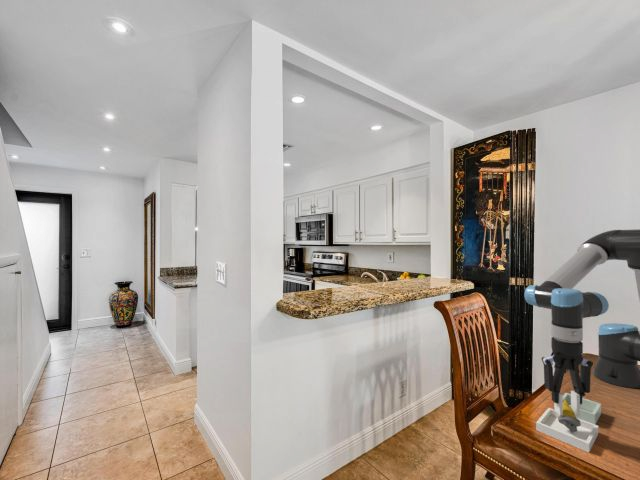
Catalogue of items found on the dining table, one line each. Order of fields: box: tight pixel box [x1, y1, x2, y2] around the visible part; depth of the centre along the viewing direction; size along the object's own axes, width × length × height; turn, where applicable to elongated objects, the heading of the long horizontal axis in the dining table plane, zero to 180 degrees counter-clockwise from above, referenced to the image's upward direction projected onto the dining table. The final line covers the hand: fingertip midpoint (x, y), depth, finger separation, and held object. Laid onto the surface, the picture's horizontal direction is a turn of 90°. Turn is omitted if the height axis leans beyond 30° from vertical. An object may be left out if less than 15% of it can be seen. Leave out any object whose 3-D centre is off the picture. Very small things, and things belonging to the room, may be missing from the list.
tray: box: [535, 407, 599, 453], centre depth 93 cm, size 13×13×2 cm
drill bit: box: [558, 399, 581, 433], centre depth 93 cm, size 5×5×10 cm
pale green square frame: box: [562, 392, 602, 425], centre depth 103 cm, size 10×10×4 cm
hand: (566, 413), depth 93 cm, fingers closed on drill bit, 4 cm apart
